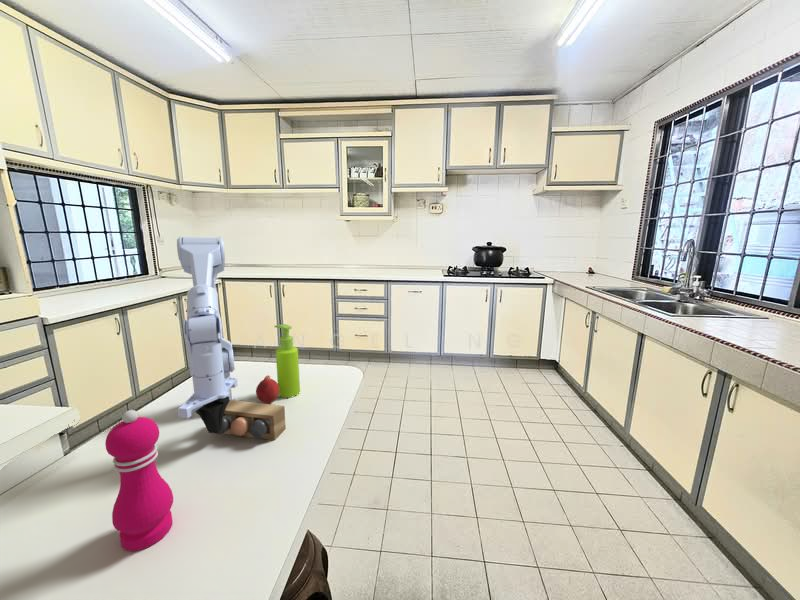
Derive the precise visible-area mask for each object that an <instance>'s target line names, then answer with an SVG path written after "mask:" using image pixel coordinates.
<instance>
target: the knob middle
mask: <svg viewBox="0 0 800 600" xmlns="http://www.w3.org/2000/svg"><path fill="white" fill-rule="evenodd" d="M250 425H251V417H246V416H244V417H238V418H237V419H236V420H234V421H233V422H232V423H231V430H232V432H233V433H234V434H235V436H240V437H242V436H241V435H243V434H244V433H246V432H247V431H248V430H249V427H250Z"/></svg>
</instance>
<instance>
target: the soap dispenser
mask: <svg viewBox="0 0 800 600" xmlns="http://www.w3.org/2000/svg"><path fill="white" fill-rule="evenodd" d="M274 328H279V329H282V330H281V331H282V336H281V337H280V338H279V348H277V349H276V350H275V360H276V375H277V384H278V385H279V388H280V391H279V395H280V396H281V397H280V396H279V395H278V396H279V397H280V398H282V397H291V398H293V397H292V396H295V395H297V394H298V395H299V394H300V393H299V392H301V387H300V384H301V383H300V368H299V367H300V366H299V349H298V347H296V346H294V343H293V341H294V340H293V336H291V335H290V330H291V329H293V327H292V325H288V324H285V323H282V324H278V325H274ZM298 395H297V396H298ZM295 397H296V396H295Z"/></svg>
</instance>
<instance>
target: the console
mask: <svg viewBox="0 0 800 600" xmlns="http://www.w3.org/2000/svg"><path fill="white" fill-rule="evenodd" d="M285 412H286V411H285V405H279V404H278V405H277V404H272V403H270V404H266V403H263V402H251V401H241V400H233V399H232V400H230V401H229V403H228V405H227V407H226V409H225V412H224V415H223V416H225V415H226V414H229V415H233V421H234V420H236V419H237V418H238V417H244V416H246V417H251V424H252V423H253V422H254V421H256V420H257V419H262V418H263V419H269V424H270V426H269V429H268V432H267V433H266V434H265V435H264V436H263V437H261V438H260V439H264V440H271V441H272V440H273V441H276V440H277V438H279V436H281V434H282V433H284V431H285V430H286V429H287V428H286V413H285ZM224 434H227V435H233V436H234V435H235V434H234V433H233V432H232V430H231V426H230V428H229V429H228V430H227V431H226V432H225V433H224ZM235 436H236V435H235ZM240 437H250V438H255V439H257V438H256V437H254V436H252V435H251V433H250V431H249V430H248V431H247V432H246V433H244V434H243V435H241V436H240Z"/></svg>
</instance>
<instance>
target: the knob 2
mask: <svg viewBox="0 0 800 600" xmlns="http://www.w3.org/2000/svg"><path fill="white" fill-rule="evenodd" d="M269 426H270V424H269V419H263V418H262V419H257V420H256V421H254V422H253V423H252V424H251V425H250V427H249V431H250V433H251V435H252V436H254V437H253V438H255V437H256V438H255V439H262V438H261V437H263V436H264V435H265V434H266V433H267V432H268V429H269Z"/></svg>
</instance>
